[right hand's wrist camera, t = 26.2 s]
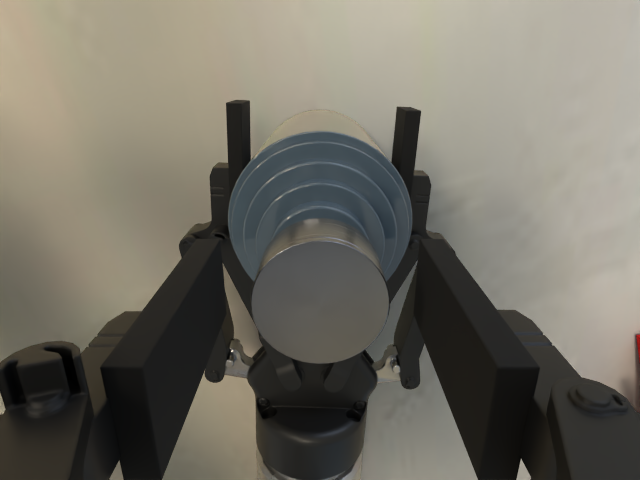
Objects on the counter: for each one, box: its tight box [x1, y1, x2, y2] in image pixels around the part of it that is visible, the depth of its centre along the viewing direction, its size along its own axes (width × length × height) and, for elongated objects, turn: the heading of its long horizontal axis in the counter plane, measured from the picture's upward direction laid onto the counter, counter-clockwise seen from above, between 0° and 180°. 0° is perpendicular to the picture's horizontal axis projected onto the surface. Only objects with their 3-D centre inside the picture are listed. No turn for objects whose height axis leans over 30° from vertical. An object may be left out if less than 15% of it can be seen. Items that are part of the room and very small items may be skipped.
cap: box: [251, 218, 390, 364], centre depth 14 cm, size 4×4×2 cm
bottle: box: [228, 110, 412, 281], centre depth 22 cm, size 8×8×18 cm
